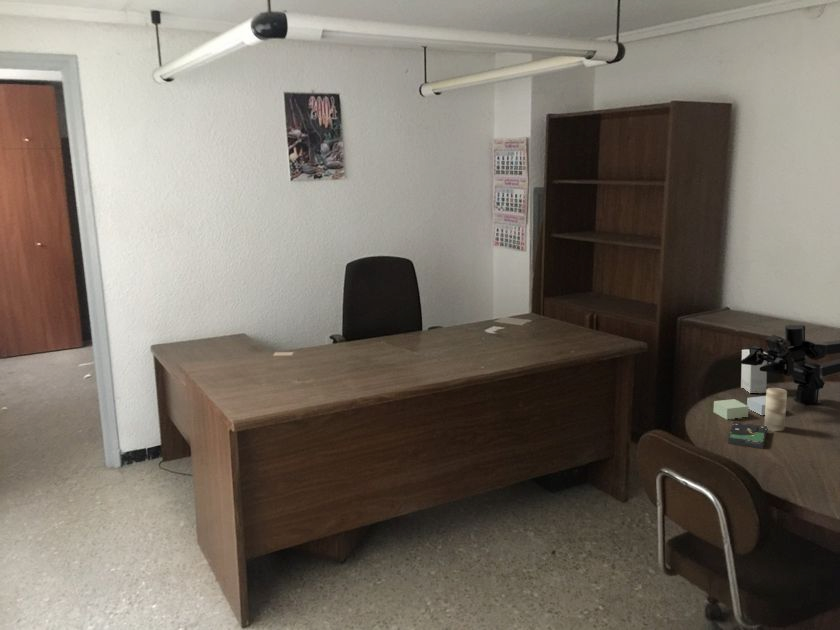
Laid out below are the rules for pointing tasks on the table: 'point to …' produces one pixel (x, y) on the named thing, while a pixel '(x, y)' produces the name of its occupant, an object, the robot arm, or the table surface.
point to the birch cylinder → (775, 409)
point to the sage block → (730, 409)
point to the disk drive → (747, 435)
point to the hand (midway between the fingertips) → (750, 365)
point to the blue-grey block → (757, 404)
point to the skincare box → (753, 376)
